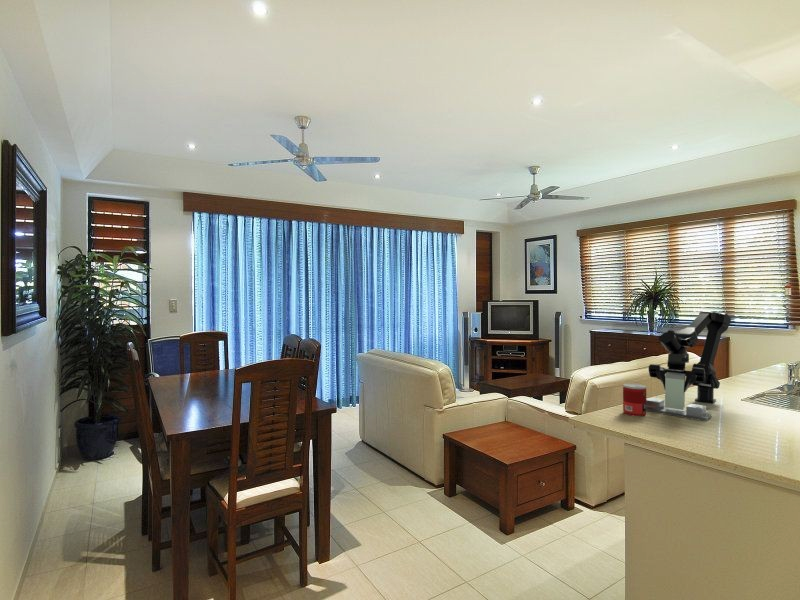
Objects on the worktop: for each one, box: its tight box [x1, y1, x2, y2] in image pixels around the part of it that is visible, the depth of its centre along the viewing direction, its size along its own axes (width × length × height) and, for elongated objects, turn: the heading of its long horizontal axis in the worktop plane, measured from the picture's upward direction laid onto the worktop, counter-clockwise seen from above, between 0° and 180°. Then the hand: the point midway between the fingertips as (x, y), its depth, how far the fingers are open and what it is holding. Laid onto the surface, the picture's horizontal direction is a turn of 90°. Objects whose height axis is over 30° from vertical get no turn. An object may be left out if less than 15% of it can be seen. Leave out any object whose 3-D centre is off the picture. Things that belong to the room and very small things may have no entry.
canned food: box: [622, 382, 647, 417], centre depth 172 cm, size 8×8×11 cm
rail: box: [646, 397, 712, 421], centre depth 172 cm, size 8×22×4 cm, turn 44°
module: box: [664, 372, 686, 410], centre depth 172 cm, size 5×6×13 cm
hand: (674, 390), depth 171 cm, fingers closed on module, 6 cm apart
